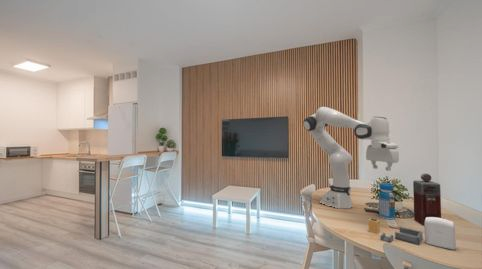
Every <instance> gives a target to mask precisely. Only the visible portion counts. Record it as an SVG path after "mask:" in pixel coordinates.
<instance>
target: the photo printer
mask: <svg viewBox="0 0 482 269" xmlns="http://www.w3.org/2000/svg"><path fill="white" fill-rule="evenodd" d="M424 224H425V226H424V242H425V243H426V244H427V245H430V246H431V245H432V246H434V247H439V248H444V249H449V250H453V251H454V250H456V249H457V244H456V243H457V242H456V240H457V239H456V227H455V224H454V222H453V221H452V220H449V219H445V218H442V217H441V218H438V217H426V219H425V222H424Z"/></svg>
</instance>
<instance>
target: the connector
mask: <svg viewBox="0 0 482 269" xmlns="http://www.w3.org/2000/svg"><path fill="white" fill-rule="evenodd" d="M380 222H381V220H380V219H378V218H375V217H370V218H369V219H368V232H369V233H372V234H374V235H375V234H376V235H378V234H379V233H380V232H381V227H380V226H381V224H380Z"/></svg>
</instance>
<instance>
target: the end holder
mask: <svg viewBox="0 0 482 269" xmlns="http://www.w3.org/2000/svg"><path fill="white" fill-rule="evenodd" d="M423 235H424V234H423V231H420V230H416V229H412V228H407V227H402V226H399V232H398V231H395V232H394V236H395V237H394V238H395V240H398V241H401V242H402V241H403V242H406V243H408V244H409V243H410V244H412V245H413V244H414V245H417V246H420V244H421V243H422V241H423V238H424V237H423Z"/></svg>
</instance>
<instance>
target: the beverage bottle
mask: <svg viewBox="0 0 482 269" xmlns="http://www.w3.org/2000/svg"><path fill="white" fill-rule="evenodd" d="M379 189H380V191H379V193H378V196H379V197H378V210H379V211H378V213H379V214H378V216H379V217H380V218H382V219H386V220H395V218H396V199H395V197H396V196H395V194H394V192H393V191H394V185H393V184H391V183H380V184H379Z"/></svg>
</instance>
